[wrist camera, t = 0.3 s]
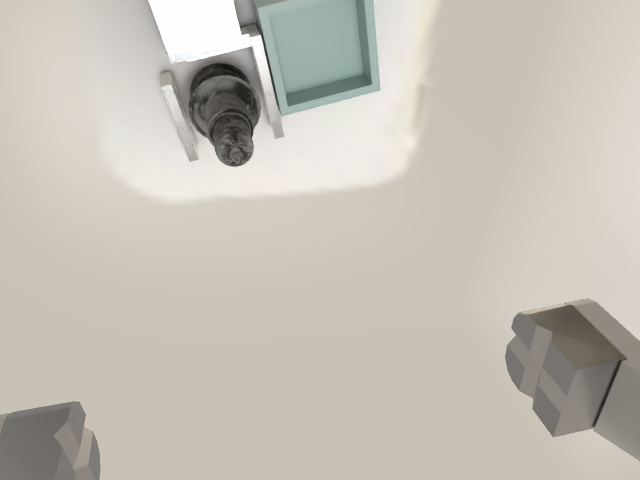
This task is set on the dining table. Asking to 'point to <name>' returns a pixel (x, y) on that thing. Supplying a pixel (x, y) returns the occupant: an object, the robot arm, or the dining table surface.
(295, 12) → the tray
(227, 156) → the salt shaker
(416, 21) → the dining table surface
